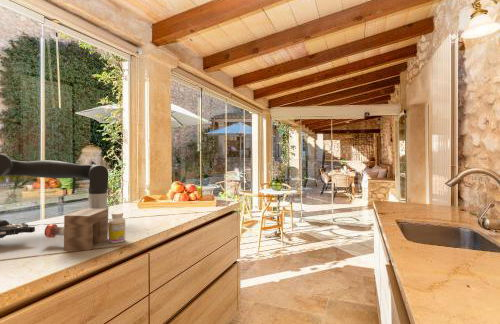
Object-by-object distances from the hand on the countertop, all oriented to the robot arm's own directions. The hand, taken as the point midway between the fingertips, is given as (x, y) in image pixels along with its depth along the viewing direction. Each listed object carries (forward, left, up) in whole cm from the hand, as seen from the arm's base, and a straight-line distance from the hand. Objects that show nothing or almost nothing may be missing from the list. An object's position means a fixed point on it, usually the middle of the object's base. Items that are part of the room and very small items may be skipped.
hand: (33, 229), depth 120 cm
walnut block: (-12, +18, -6) cm, 23 cm away
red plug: (-7, +12, -3) cm, 14 cm away
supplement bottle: (-22, +25, -7) cm, 34 cm away
